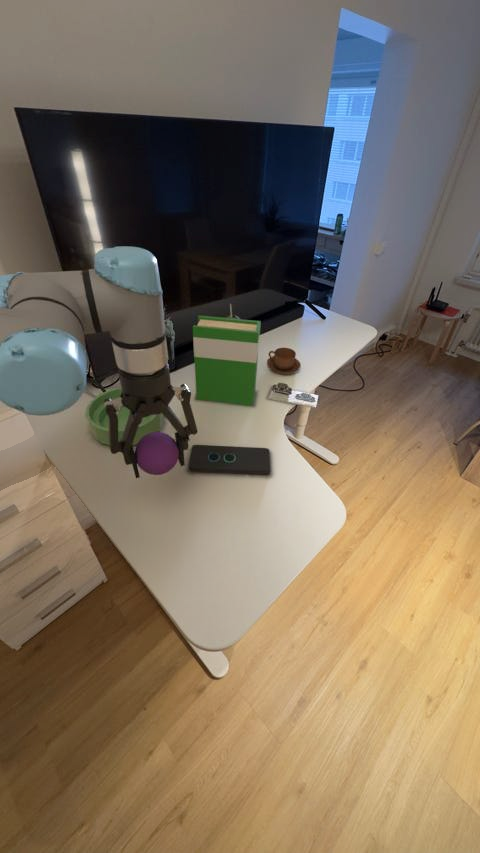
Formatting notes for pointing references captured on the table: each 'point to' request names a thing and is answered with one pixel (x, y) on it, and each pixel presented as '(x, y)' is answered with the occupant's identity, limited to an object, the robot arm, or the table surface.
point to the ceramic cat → (169, 338)
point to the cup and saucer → (283, 361)
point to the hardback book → (226, 359)
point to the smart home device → (229, 460)
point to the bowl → (100, 425)
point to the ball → (156, 453)
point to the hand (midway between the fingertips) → (159, 466)
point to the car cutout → (292, 396)
